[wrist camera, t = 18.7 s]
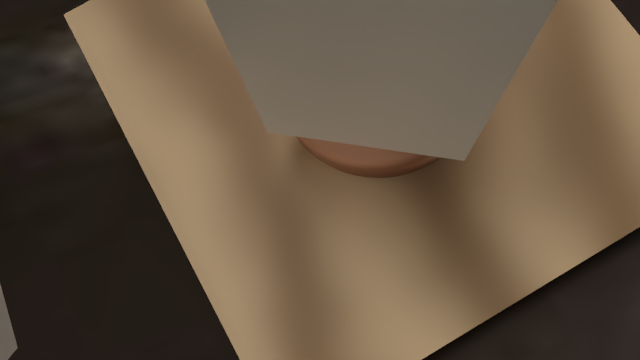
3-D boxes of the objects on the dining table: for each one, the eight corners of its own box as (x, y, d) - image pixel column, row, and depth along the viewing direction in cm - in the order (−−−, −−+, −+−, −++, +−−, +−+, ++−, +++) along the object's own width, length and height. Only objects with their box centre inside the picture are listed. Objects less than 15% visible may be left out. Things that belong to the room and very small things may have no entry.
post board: (288, 436, 22) (192, 568, 10) (79, 31, 27) (-161, -224, 15) (721, 173, 24) (1126, -8, 11) (446, -167, 29) (510, -555, 16)
